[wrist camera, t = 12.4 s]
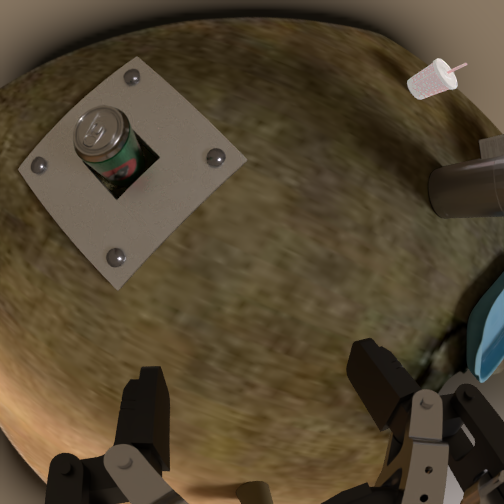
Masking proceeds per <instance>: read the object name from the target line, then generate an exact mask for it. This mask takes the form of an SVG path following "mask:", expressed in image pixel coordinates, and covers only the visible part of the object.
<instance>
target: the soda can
mask: <svg viewBox="0 0 504 504" xmlns="http://www.w3.org/2000/svg"><path fill="white" fill-rule="evenodd" d="M73 144H74V149H75V152H76V153H77V155H78V156H79V157H80V158H81V159H82V160H83V161H84V162H86V163H87V164H88V165H89V166H91V167H92V168H93V169H94V170H95V171H97V172H98V173H99V174H100V175H102V176H103V177H104V178H106V179H107V180H108V181H109V182H111V183H112V184H114V185H117V186H127V185H130V184H132V183H134V182H135V181H136V180H137V179H138V178H139V177H140V176H141V175H142V173H143V170H144V167H145V158H144V155H143V153H142V150H141V148H140V146H139V143H138V141H137V139H136V136H135V134H134V132H133V129H132V127H131V124H130V122H129V120H128V117H127V116H126V115H125V113H124V112H123V111H121V110H120V109H117V108H114V107H111V106H107V105H102V106H97V107H94V108H92V109H90V110H88V111H87V112H85V113H84V114H83V115H82V116H81V117H80V119H79V120H78V122H77V123H76V126H75V128H74V133H73Z"/></svg>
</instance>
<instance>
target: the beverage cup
mask: <svg viewBox="0 0 504 504" xmlns="http://www.w3.org/2000/svg"><path fill="white" fill-rule="evenodd" d="M466 65H467V63H464V64H462V65H459V66H457V67H455V68H454V69H451V68H450V67H449V65H448V64H447V63H446V62H445V61H443V60H442V59H439V58H437V59H436V60H434V61H433V63H432V64H431V65H429V66H428V67H426V68H425V69H423V70H422V71H420V72H419V73H417V74H416V75H414V76H413V77H411V78H410V79H409V80H408V81H407V85H408V88H409V90H410V92H411V93H412V95H413V96H414V97H416V98H417V99H424V98H426V97H429V96H432V95H435V94H437V93H440V92H443V91H446V90H449V89H452V90H453V89H456V88H457V80H456V77H455V75H454V73H453V71H455V70H457V69H460V68H461V67H464V66H466Z"/></svg>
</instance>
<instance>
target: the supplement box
mask: <svg viewBox="0 0 504 504" xmlns="http://www.w3.org/2000/svg"><path fill="white" fill-rule="evenodd" d="M479 145H480V152H481V159H487V158H492V157H497V156H502V155H504V134H503V135H498V136H494V137H490V138H486V139H481V140H479Z"/></svg>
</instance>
